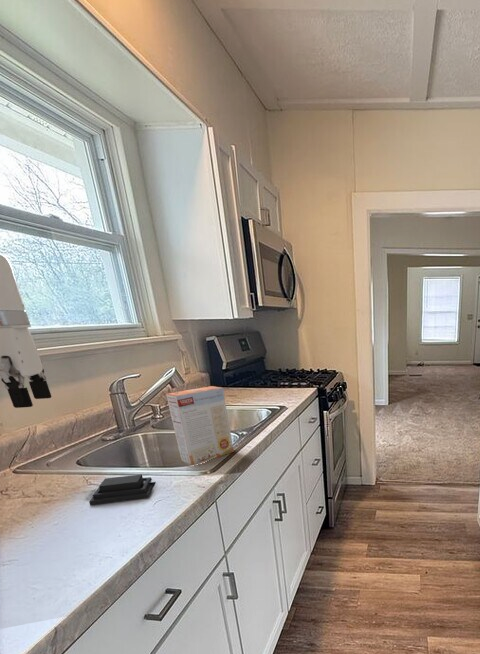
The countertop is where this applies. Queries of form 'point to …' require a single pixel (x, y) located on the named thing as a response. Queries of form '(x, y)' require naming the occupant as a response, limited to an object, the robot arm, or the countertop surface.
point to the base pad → (123, 494)
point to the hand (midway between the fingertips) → (34, 402)
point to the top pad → (121, 483)
